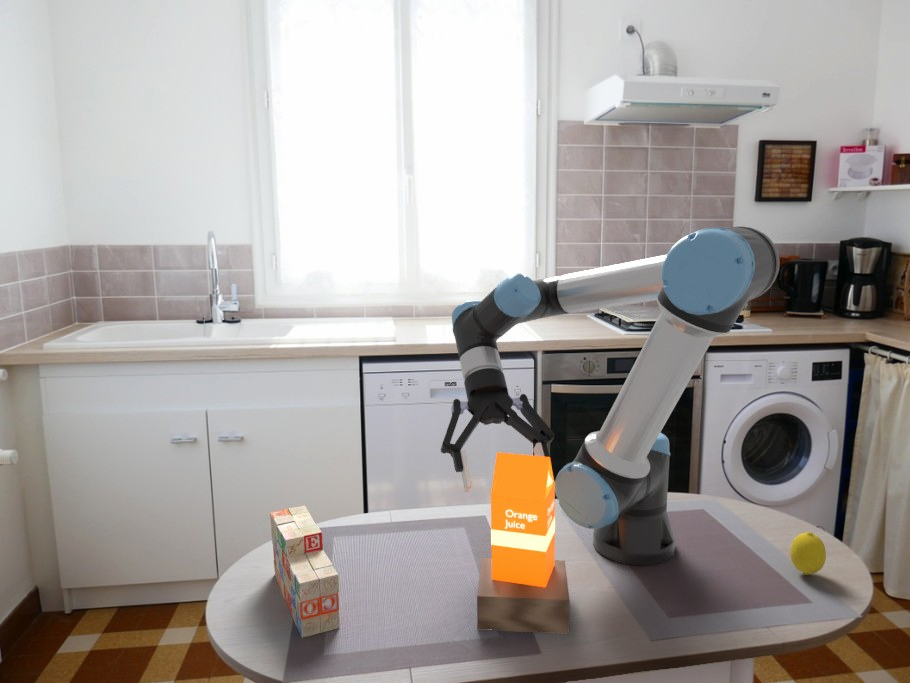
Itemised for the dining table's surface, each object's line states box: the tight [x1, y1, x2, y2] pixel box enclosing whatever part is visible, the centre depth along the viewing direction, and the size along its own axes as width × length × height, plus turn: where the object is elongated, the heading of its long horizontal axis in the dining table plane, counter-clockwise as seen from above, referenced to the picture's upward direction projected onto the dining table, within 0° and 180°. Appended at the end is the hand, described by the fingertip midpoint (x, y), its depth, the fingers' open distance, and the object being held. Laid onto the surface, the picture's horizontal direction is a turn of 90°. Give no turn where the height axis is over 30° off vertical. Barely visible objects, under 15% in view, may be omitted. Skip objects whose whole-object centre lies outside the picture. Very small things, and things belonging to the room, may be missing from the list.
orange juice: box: [490, 452, 556, 587], centre depth 112 cm, size 8×9×20 cm
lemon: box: [789, 531, 827, 576], centre depth 122 cm, size 6×6×8 cm
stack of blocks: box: [269, 505, 341, 639], centre depth 116 cm, size 21×6×12 cm, turn 25°
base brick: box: [476, 557, 571, 635], centre depth 113 cm, size 14×12×6 cm
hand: (507, 484), depth 118 cm, fingers open, 13 cm apart
